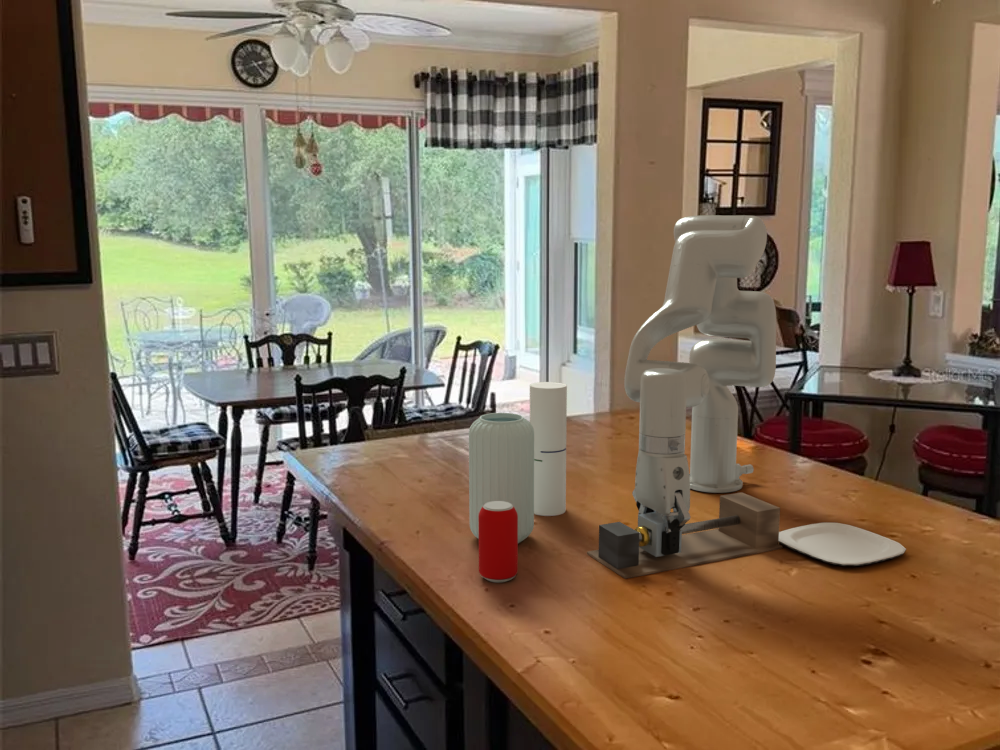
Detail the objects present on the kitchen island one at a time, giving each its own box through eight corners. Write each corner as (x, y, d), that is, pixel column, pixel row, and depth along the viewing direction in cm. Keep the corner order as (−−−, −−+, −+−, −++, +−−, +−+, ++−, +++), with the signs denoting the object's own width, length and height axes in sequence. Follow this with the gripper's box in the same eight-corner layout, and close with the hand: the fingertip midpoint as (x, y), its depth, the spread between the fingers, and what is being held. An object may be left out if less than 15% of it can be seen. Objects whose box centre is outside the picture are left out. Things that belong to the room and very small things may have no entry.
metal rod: (733, 525, 159) (734, 508, 159) (745, 531, 157) (746, 513, 156) (608, 547, 149) (608, 529, 148) (618, 553, 146) (618, 534, 145)
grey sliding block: (661, 541, 155) (662, 510, 154) (681, 552, 150) (682, 520, 149) (637, 546, 153) (638, 514, 152) (656, 557, 148) (656, 524, 147)
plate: (843, 577, 143) (843, 567, 143) (761, 542, 159) (762, 533, 159) (919, 558, 151) (919, 548, 151) (834, 527, 167) (835, 518, 167)
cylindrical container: (563, 516, 172) (564, 389, 168) (526, 514, 173) (526, 387, 169) (567, 505, 179) (569, 382, 175) (532, 503, 180) (533, 381, 176)
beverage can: (504, 588, 138) (504, 513, 136) (471, 579, 141) (470, 507, 139) (524, 575, 143) (524, 503, 141) (492, 567, 147) (491, 497, 145)
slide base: (736, 527, 166) (738, 490, 164) (782, 548, 155) (784, 509, 154) (586, 553, 152) (587, 514, 151) (625, 578, 142) (625, 536, 141)
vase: (541, 531, 164) (542, 413, 160) (522, 553, 153) (522, 426, 149) (482, 525, 167) (482, 408, 164) (460, 545, 157) (458, 421, 153)
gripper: (712, 452, 142) (708, 561, 145) (651, 430, 157) (648, 528, 160) (673, 457, 139) (670, 568, 142) (614, 434, 154) (613, 534, 157)
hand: (659, 546), depth 151 cm, fingers closed on grey sliding block, 5 cm apart
